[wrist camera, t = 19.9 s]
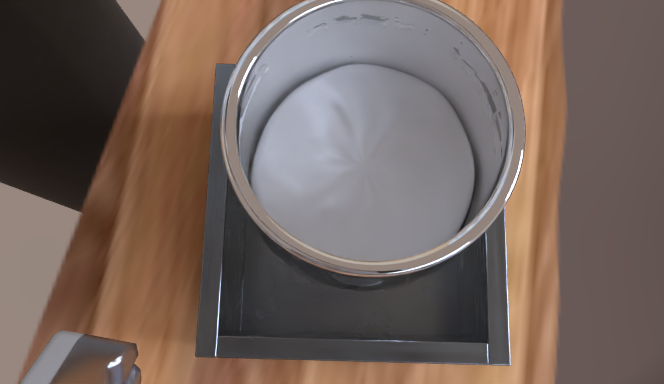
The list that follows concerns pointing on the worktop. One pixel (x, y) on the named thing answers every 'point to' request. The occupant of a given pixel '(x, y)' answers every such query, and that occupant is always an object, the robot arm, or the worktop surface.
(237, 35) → the worktop surface
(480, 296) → the dark gray square tray
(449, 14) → the metal tumbler
